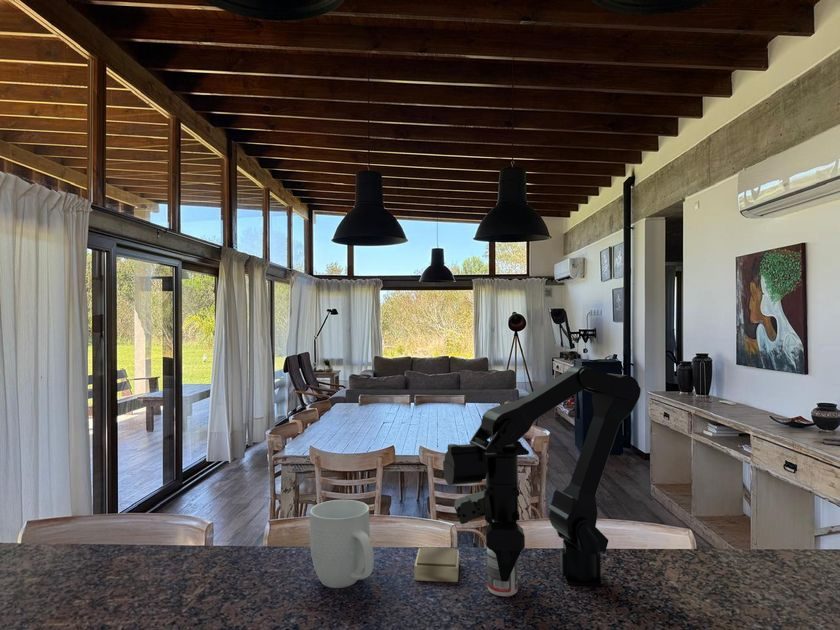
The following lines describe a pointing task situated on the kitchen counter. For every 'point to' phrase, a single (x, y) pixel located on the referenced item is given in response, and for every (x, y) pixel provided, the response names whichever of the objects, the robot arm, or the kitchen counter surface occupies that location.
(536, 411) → the robot arm
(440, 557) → the plinth
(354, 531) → the mug
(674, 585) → the kitchen counter surface
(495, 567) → the pill bottle
